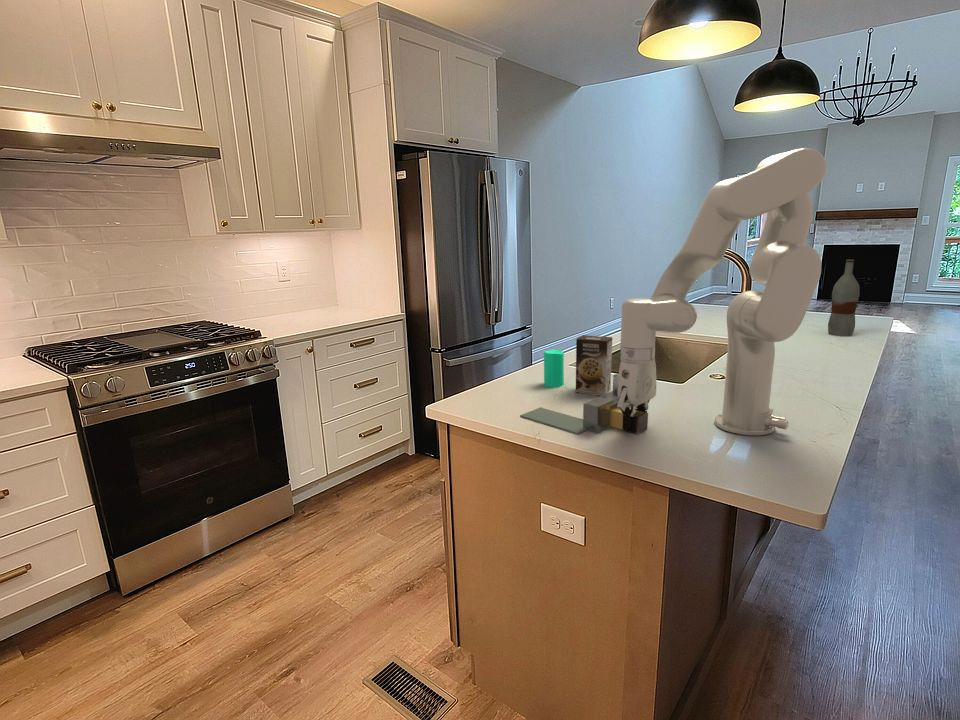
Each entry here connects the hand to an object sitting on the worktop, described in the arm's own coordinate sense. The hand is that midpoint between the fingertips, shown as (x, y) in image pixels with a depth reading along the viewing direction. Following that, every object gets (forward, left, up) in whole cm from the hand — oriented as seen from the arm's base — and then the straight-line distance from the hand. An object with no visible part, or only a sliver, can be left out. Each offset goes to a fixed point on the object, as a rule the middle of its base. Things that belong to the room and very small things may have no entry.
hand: (634, 427), depth 122 cm
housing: (+7, 0, 0) cm, 7 cm away
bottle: (-9, -144, 0) cm, 144 cm away
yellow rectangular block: (+5, 0, 0) cm, 5 cm away
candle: (+37, -16, 0) cm, 40 cm away
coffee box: (+24, -18, -1) cm, 30 cm away
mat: (+17, +7, 0) cm, 19 cm away
